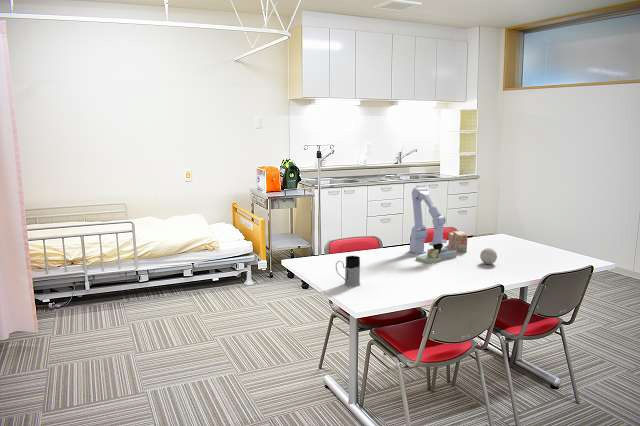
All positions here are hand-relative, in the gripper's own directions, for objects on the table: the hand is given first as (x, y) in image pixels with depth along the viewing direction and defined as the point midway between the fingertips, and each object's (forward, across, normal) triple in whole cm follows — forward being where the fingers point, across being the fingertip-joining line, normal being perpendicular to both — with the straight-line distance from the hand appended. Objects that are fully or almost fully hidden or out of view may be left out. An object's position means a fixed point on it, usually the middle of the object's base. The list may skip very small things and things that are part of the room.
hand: (437, 254), depth 335 cm
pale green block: (+3, 0, 0) cm, 3 cm away
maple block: (+1, -4, 0) cm, 4 cm away
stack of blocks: (+3, +33, +11) cm, 35 cm away
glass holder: (+3, -81, -9) cm, 82 cm away
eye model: (+3, +18, -26) cm, 32 cm away
